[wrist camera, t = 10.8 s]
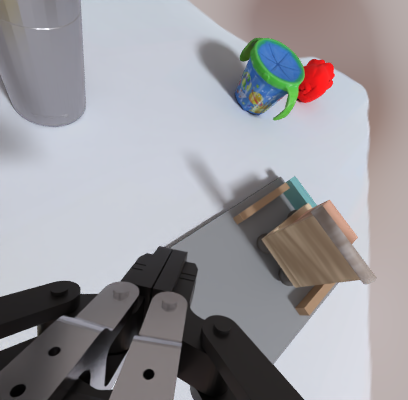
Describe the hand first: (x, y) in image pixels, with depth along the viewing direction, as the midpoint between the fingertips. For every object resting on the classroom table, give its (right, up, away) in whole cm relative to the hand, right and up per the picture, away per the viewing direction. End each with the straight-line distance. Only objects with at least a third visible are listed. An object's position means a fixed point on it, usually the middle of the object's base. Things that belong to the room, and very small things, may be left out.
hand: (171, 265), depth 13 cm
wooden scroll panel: (+15, -4, +28) cm, 32 cm away
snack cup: (+11, +24, +40) cm, 47 cm away
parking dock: (+11, -7, +26) cm, 29 cm away
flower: (+25, +28, +47) cm, 60 cm away
